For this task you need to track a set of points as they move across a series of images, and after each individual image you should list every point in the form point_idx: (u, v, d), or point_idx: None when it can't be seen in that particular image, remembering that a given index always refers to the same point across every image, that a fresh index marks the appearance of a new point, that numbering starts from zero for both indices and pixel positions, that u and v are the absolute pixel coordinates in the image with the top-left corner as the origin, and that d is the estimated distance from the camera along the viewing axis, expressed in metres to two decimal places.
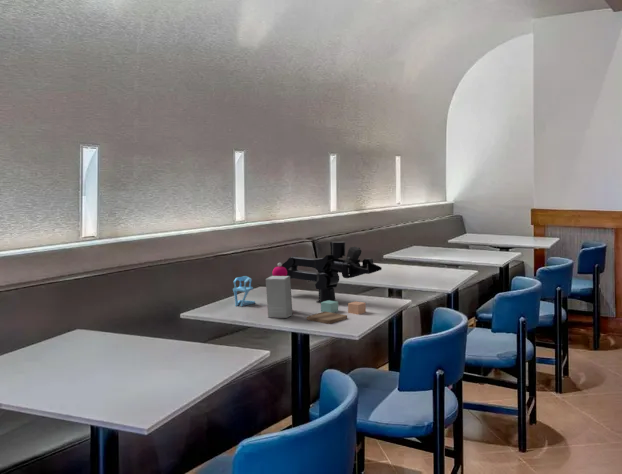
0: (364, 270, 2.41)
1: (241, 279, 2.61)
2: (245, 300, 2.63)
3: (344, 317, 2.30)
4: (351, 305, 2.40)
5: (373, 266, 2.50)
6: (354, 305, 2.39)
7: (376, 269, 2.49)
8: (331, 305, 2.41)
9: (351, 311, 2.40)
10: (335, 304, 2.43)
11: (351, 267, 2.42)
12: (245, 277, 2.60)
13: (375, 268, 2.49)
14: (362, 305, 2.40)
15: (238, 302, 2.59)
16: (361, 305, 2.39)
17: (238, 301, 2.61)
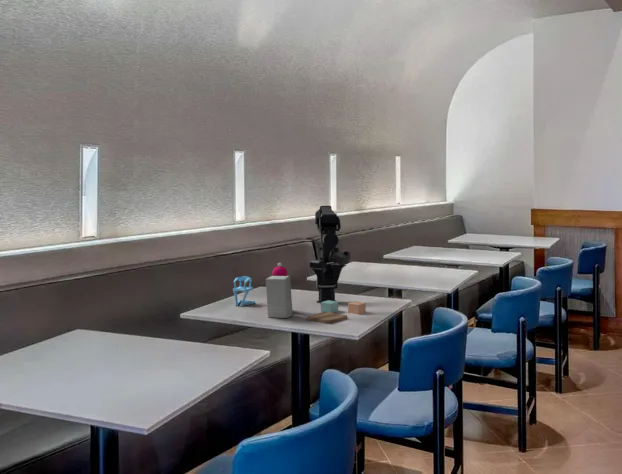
0: (321, 281, 2.39)
1: (241, 279, 2.61)
2: (245, 300, 2.63)
3: (344, 317, 2.30)
4: (351, 305, 2.40)
5: (337, 271, 2.46)
6: (354, 305, 2.39)
7: (335, 276, 2.46)
8: (331, 305, 2.41)
9: (351, 311, 2.40)
10: (335, 304, 2.43)
11: (320, 270, 2.36)
12: (245, 277, 2.60)
13: (336, 274, 2.46)
14: (362, 305, 2.40)
15: (238, 302, 2.59)
16: (361, 305, 2.39)
17: (238, 301, 2.61)
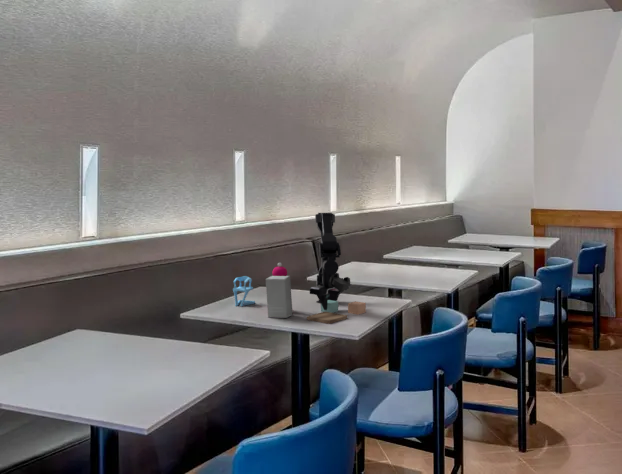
0: (324, 306, 2.41)
1: (241, 279, 2.61)
2: (245, 300, 2.63)
3: (344, 317, 2.30)
4: (351, 305, 2.40)
5: (334, 297, 2.45)
6: (354, 305, 2.39)
7: None
8: (331, 305, 2.41)
9: (351, 311, 2.40)
10: (335, 304, 2.43)
11: None
12: (245, 277, 2.60)
13: (333, 300, 2.46)
14: (362, 305, 2.40)
15: (238, 302, 2.59)
16: (361, 305, 2.39)
17: (238, 301, 2.61)
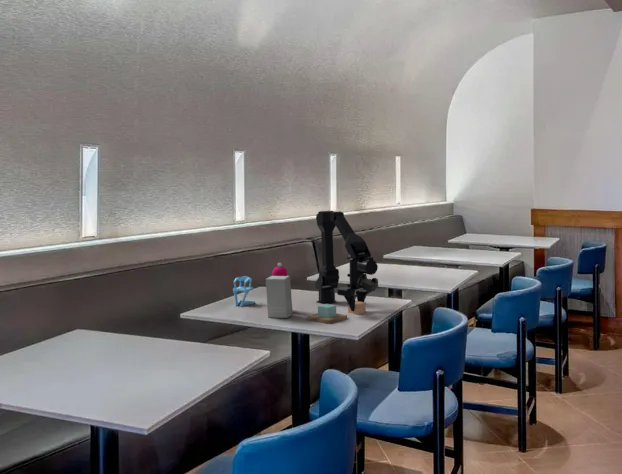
0: (352, 307, 2.38)
1: (241, 279, 2.61)
2: (245, 300, 2.63)
3: (344, 317, 2.30)
4: None
5: (361, 298, 2.43)
6: None
7: None
8: (329, 309, 2.27)
9: (351, 311, 2.40)
10: (333, 308, 2.29)
11: None
12: (245, 277, 2.60)
13: (360, 301, 2.43)
14: (362, 305, 2.40)
15: (238, 302, 2.59)
16: (361, 305, 2.39)
17: (238, 301, 2.61)
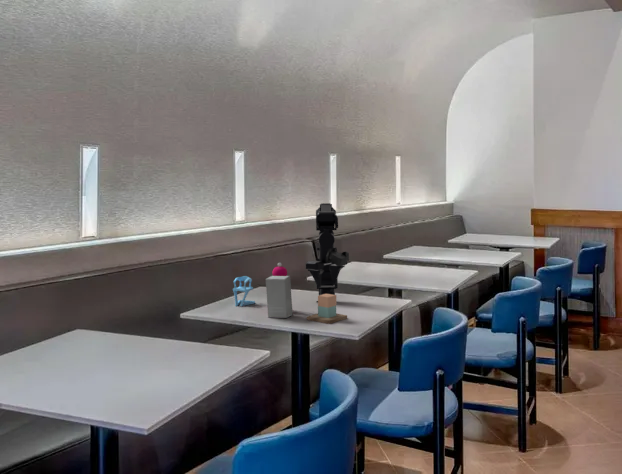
0: (318, 283, 2.25)
1: (241, 279, 2.61)
2: (245, 300, 2.63)
3: (344, 317, 2.30)
4: (321, 297, 2.29)
5: (335, 273, 2.32)
6: (324, 297, 2.28)
7: (332, 277, 2.33)
8: (329, 309, 2.27)
9: (321, 304, 2.29)
10: (333, 308, 2.29)
11: (317, 271, 2.23)
12: (245, 277, 2.60)
13: (334, 276, 2.33)
14: (332, 297, 2.29)
15: (238, 302, 2.59)
16: (331, 297, 2.28)
17: (238, 301, 2.61)
